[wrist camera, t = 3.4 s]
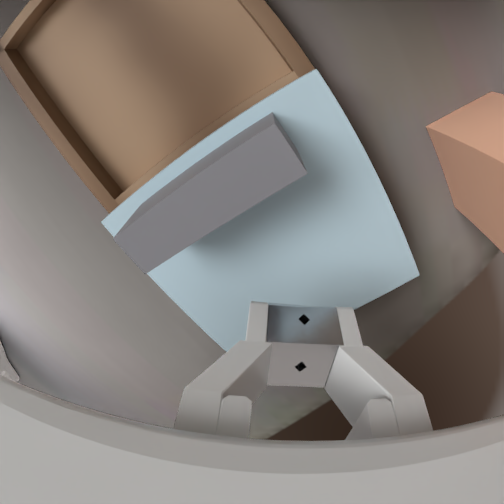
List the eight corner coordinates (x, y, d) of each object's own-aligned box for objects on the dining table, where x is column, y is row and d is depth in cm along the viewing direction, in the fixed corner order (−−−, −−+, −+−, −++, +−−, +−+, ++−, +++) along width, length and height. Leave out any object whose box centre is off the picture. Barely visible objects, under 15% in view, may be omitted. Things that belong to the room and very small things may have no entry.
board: (241, 333, 18) (239, 351, 17) (9, 50, 10) (-9, 52, 9) (405, 251, 15) (415, 266, 14) (163, -94, 7) (154, -106, 5)
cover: (237, 351, 17) (232, 404, 14) (107, 215, 13) (69, 257, 10) (414, 266, 14) (443, 315, 11) (313, 69, 10) (334, 66, 7)
